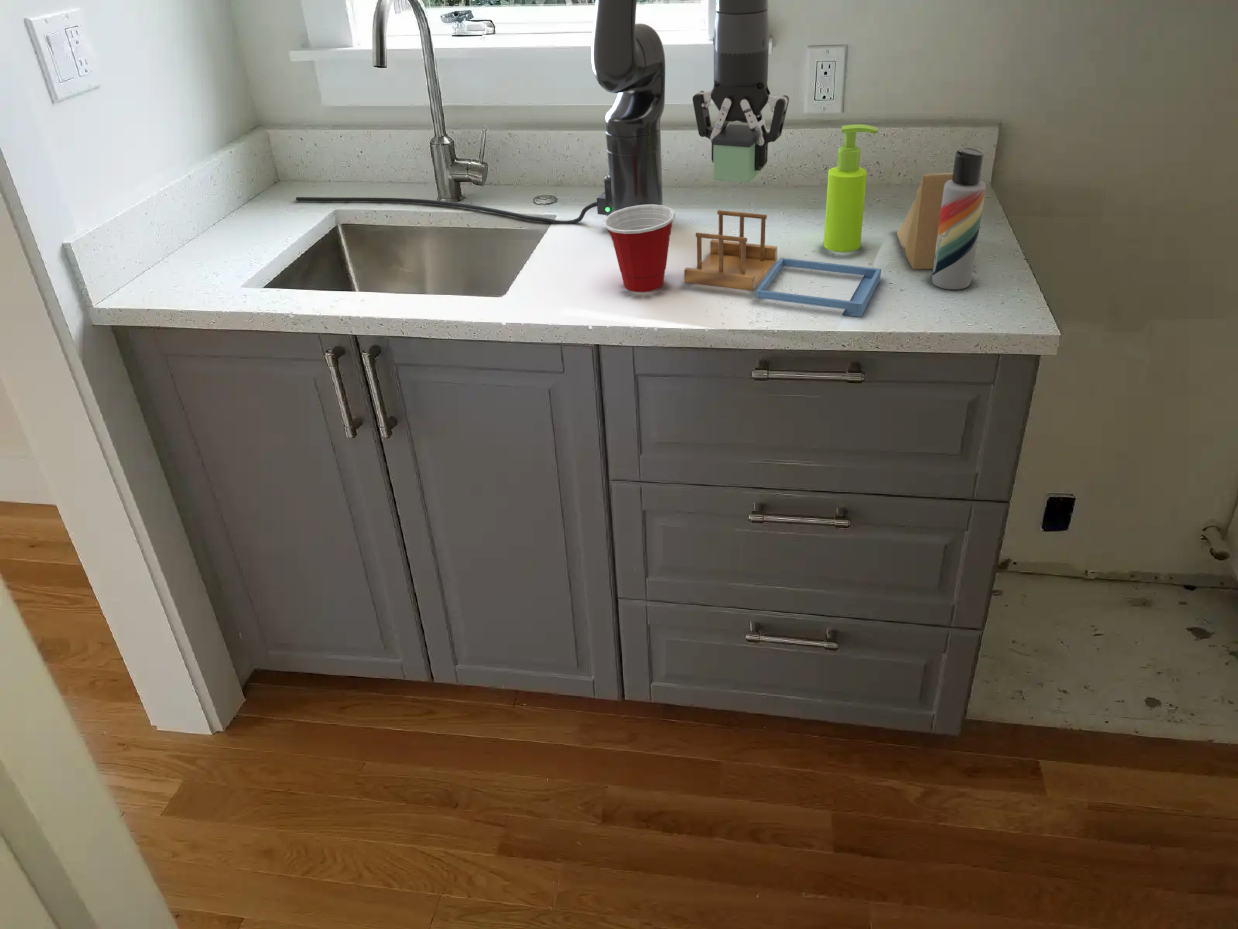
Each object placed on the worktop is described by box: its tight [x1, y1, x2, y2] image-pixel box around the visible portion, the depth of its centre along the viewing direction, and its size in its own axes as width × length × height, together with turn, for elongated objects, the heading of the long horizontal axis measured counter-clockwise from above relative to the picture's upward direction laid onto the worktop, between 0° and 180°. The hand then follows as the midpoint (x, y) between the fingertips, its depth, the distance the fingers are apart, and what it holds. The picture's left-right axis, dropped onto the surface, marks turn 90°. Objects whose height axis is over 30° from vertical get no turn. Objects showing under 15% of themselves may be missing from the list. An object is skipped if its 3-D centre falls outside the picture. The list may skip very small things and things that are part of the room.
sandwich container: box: [896, 171, 982, 270], centre depth 154 cm, size 9×15×15 cm, turn 176°
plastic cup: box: [602, 204, 676, 293], centre depth 148 cm, size 11×11×12 cm
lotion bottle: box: [931, 147, 987, 291], centre depth 142 cm, size 6×6×20 cm
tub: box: [711, 124, 768, 184], centre depth 143 cm, size 6×8×6 cm
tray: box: [755, 257, 882, 318], centre depth 147 cm, size 16×13×2 cm
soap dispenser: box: [823, 124, 879, 253], centre depth 154 cm, size 6×7×20 cm
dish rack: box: [683, 209, 778, 292], centre depth 152 cm, size 11×13×9 cm
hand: (738, 166), depth 144 cm, fingers closed on tub, 5 cm apart
